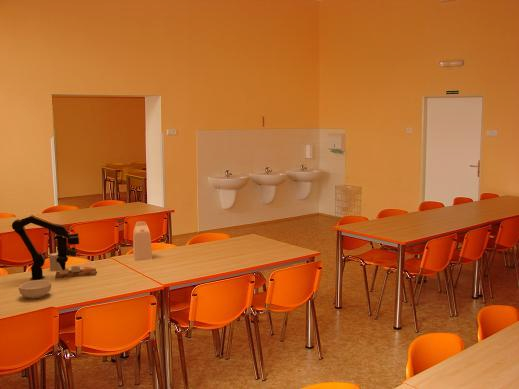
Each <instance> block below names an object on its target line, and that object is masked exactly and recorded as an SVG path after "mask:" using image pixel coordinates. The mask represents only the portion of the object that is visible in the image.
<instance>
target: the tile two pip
mask: <svg viewBox="0 0 519 389" xmlns="http://www.w3.org/2000/svg"><path fill="white" fill-rule="evenodd" d="M70 270H71V273H73V272H80V270H81V265H77V266H76V265H75V266H71V268H70Z"/></svg>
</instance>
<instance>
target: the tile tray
mask: <svg viewBox="0 0 519 389" xmlns="http://www.w3.org/2000/svg"><path fill="white" fill-rule="evenodd" d="M68 270H69V269H68ZM59 271H60V270H57V271H55V275H54V278H55V279H56V280H58V279H69V278H80V277H91V276H96V275H97V274H96V273H97V268H96V267H95V268H93V267H92V272H83V268H82V269H81V268H80V272H73V273H71V269H70V270H69V273H68V274H60V272H59Z"/></svg>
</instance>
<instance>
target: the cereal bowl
mask: <svg viewBox="0 0 519 389" xmlns="http://www.w3.org/2000/svg"><path fill="white" fill-rule="evenodd" d="M51 290H52V282H51V281H50V280H46V279H40V280H30V281H25V282H22V283H21V284H19V285H18V291H19V294H20V295H21V296H22V297H25V298H28V299H32V300H35V299H39V298H43V297H44V296H46V295H47V294H49V293H50V292H51Z"/></svg>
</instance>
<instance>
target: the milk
mask: <svg viewBox="0 0 519 389" xmlns="http://www.w3.org/2000/svg"><path fill="white" fill-rule="evenodd" d="M132 237H133V238H132V239H133V240H132V242H133V244H132V245H133V246H132V247H133V251H132V253H133V256H132V257H133V259H134V261H144V260H146V261H147V260H153V252H152V251H153V250H152V249H153V248H152V240H151V238H152V236H151V232H150V229H149V227H148V224H147V222H146V221H136V223H135V226H134V228H133V232H132Z"/></svg>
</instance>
